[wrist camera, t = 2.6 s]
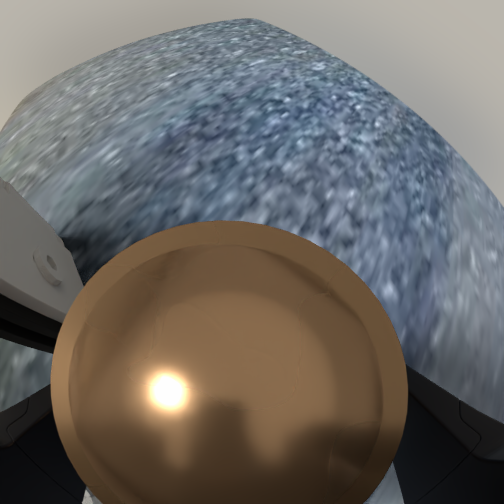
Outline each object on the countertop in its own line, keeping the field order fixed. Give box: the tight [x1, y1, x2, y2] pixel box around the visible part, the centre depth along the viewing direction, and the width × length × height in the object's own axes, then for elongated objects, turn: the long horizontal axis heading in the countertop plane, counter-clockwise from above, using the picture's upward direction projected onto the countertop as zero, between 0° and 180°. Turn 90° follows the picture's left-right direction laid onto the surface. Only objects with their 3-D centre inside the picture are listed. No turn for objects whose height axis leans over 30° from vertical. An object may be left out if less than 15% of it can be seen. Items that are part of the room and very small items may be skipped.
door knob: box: [51, 221, 408, 504], centre depth 9 cm, size 5×5×13 cm
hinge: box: [0, 177, 84, 354], centre depth 13 cm, size 14×5×10 cm, turn 51°
